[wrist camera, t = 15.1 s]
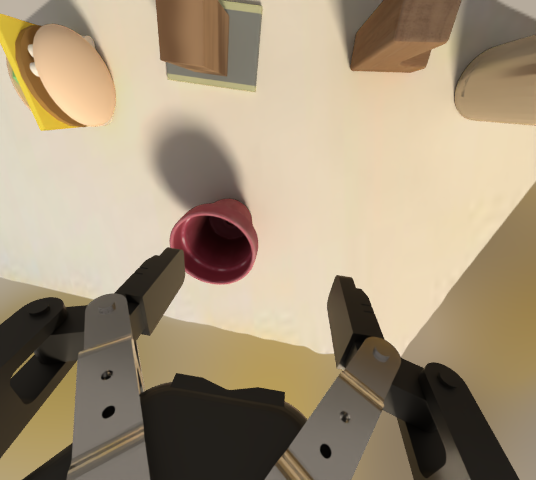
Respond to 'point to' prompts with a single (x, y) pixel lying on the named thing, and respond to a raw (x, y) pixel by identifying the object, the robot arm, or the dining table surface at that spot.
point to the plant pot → (217, 241)
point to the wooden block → (403, 35)
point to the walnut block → (194, 35)
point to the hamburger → (57, 74)
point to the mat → (232, 51)
